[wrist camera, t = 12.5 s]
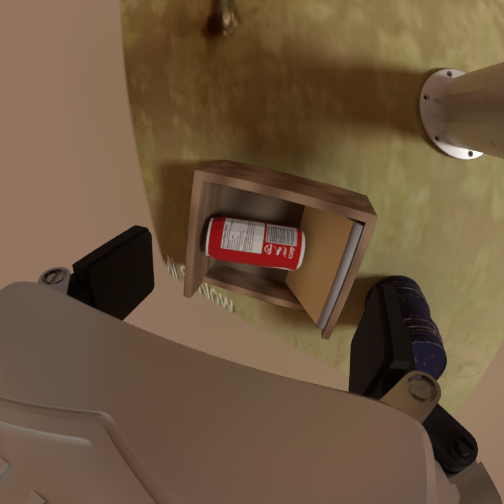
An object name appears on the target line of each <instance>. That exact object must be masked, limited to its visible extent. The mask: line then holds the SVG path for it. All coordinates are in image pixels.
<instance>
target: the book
mask: <svg viewBox="0 0 504 504" xmlns="http://www.w3.org/2000/svg"><path fill="white" fill-rule="evenodd" d="M363 227H364V225H363V224H362V223H360V222H358V221H357V220H355V219H352V218H349V217H345V216H342V215H339V214H335V213H332V212H328V211H325V210H321V209H317V208H314V207H310V206H306V205H305V209H304V213H303V216H302V220H301V224H300V228H301V229H302V231H303V232H305V251H304V256H303V260H302V263H301V266H300V267H299V268H297V269H296V270H295V271H292V270H288V273H287V277H286V280H285V283H286V284H287V285H288V287H289V288H290V290H291V291H292V292H293V294H294V295H295V296H296V298H297V299H298V300H299V302H300V303H301V304H302V306H303V307H304V309H305V310H306V311H307V313H308V314H309V315H310V317H311V318H312V319H313V321H314V322H315V324H316V326H317V327H318V328H320V329H324V328H325V327H326V324H327V322H328V320H329V317H330V315H331V313H332V310H333V308H334V305H335V303H336V301H337V298H338V296H339V293H340V291H341V288H342V285H343V283H344V280H345V278H346V275H347V272H348V270H349V267H350V264H351V262H352V259H353V256H354V253H355V250H356V248H357V245H358V242H359V239H360V236H361V233H362V230H363Z"/></svg>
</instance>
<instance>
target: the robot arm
mask: <svg viewBox="0 0 504 504" xmlns="http://www.w3.org/2000/svg"><path fill="white" fill-rule="evenodd" d="M447 74H448V75H447ZM424 96H425V97H426V100H425V99H424ZM419 115H420V118H421V122H422V125H423V127H424V129H425V132H426V133H427V135H428V137H429V138H430V140H431V141H432V142H433V143H434V144H435V146H436V147H437V148H439V149H440V150H441V151H442V152H444V153H445V154H447V155H449V156H451V157H454V158H457V159H462V160H471V159H475V158H477V157H479V156H481V155H483V154H488V155H492V156H496V157H499V158H503V159H504V62H502V63H499V64H495V65H492V66H488V67H485V68H482V69H479V70H476V71H473V72H469V73H466V72H463V71H461V70H457V69H443V70H439V71H437V72H435V73H433V74H432V75H431V76H429V77H428V78H427V80H426V81H425V82H424V84H423V86H422V88H421V91H420V95H419ZM435 136H436V137H437V140H435ZM468 152H469V155H468ZM72 266H73V271H74V273H73V274H71V273H70V271H69V270H68V269H67V268H64V267H56V268H52V269H49V270H47V271H45V272H44V273H43V274H42V275H41V276H40V278H39V280H38V283H35V282H14V283H12V284H10V285H8V286H6V287H4V288H3V289H1V290H0V504H502V500H501V497H500V495H499V493H498V491H497V489H496V487H495V485H494V483H493V482H492V480H491V478H490V476H489V474H488V472H487V471H486V469H485V467H484V466H483V464H482V462H480V463H477V461H476V460H475V459H476V457H477V453H478V447H477V443H476V440H475V438H474V437H473V436H472V435H471V434H470V433H469V432H468V431H467V430H466V429H465V428H464V427H463V426H462V425H461V424H460V423H459V422H457V421H456V420H455V419H454V418H453V417H452V416H451V415H450V414H449V413H448V412H447V411H446V410H444V409H443V408H442V407H441V406H440V405H439V404H438V401H439V399H440V397H441V389H440V386H439V384H438V382H437V381H436V380H435V379H434V378H433V377H432V376H431V375H429V374H427V373H425V372H422V371H417V369H416V364H415V358H414V353H413V348H412V343H411V339H410V334H409V330H408V326H407V324H405V323H403V319H402V314H401V310H400V306H399V302H398V298H397V294H396V290H395V287H393V286H388V285H384V284H380V285H379V287H376V286H375V287H374V288H373V291H372V293H371V296H370V298H369V301H368V304H367V306H366V308H365V311H364V313H363V316H362V318H361V321H360V323H359V325H358V328H357V330H356V332H355V334H354V337H353V339H352V342H351V353H350V376H349V392H347V391H342V390H338V389H334V388H330V387H325V386H321V385H317V384H313V383H309V382H304V381H300V380H296V379H292V378H288V377H284V376H280V375H276V374H273V373H269V372H265V371H262V370H258V369H255V368H252V367H248V366H245V365H241V364H238V363H235V362H232V361H228V360H225V359H222V358H219V357H216V356H213V355H210V354H207V353H204V352H201V351H199V350H196V349H193V348H190V347H187V346H185V345H182V344H179V343H176V342H174V341H171V340H169V339H166V338H163V337H161V336H158V335H156V334H153V333H151V332H148V331H146V330H143V329H141V328H139V327H136V326H134V325H131V324H129V323H127V322H124V321H123V320H124V319H125V318H126V317H127V316H128V315H129V314H130V313H131V312H132V311H133V310H134V309H135V308H136V307H137V306H138V305H139V304H140V303H141V302H142V301H143V300H144V299H145V298H146V297H147V296H148V295H149V294H150V293H151V292H152V290H153V288H154V271H153V255H152V235H151V233H150V232H149V230H148V228H146V227H141V226H137V225H135V226H133V227H131V228H130V229H128V230H126V231H125V232H123V233H121V234H120V235H119V236H116V237H115V238H113V239H112V240H110V241H108V242H107V243H105V244H104V245H102V246H100V247H99V248H97V249H96V250H94V251H93V252H91V253H90V254H88V255H86V256H85V257H83V258H82V259H81V260H79V261H77V262H76V263H74V264H73V265H72Z"/></svg>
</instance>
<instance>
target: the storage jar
mask: <svg viewBox="0 0 504 504" xmlns="http://www.w3.org/2000/svg"><path fill="white" fill-rule="evenodd" d="M380 284H384V285H388V286H393V287H395V290H396V294H397V298H398V302H399V306H400V310H401V314H402V319H403V323H405V324H407V326H408V330H409V334H410V339H411V343H412V348H413V353H414V358H415V364H416V369H417V371H422V372H425V373H427V374H429V375H431V376H432V377H433V378H434V379H435V380H436V381H437V380H438V379H439V378H440V377H441V375H442V374H443V372H444V370H445V368H446V365H447V355H446V352H445V350H444V347H443V342H442V339H441V336H440V334H439V330H438V328H437V326H436V324H435V323H434V322H433V320H432V319H431V317H430V309H429V305H428V303H427V301H426V299H425V297H424V295H423V293H422V292H421V289H420V288H419V286H418V284H417V283H416V282H415V281H414V280H412V279H410V278H408V277H406V276H390V277H387V278H385V279H382V280H381V281H379V282H378V283H376V284H375V285H374V286H373V287H372V288H371V289H370V291H369V292H368V294H367V297H366V300H365V308H366V306H367V304H368V301H369V298H370V296H371V293H372V291H373V288H374V287H375V286H376V287H379V285H380Z"/></svg>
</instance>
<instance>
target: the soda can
mask: <svg viewBox="0 0 504 504" xmlns="http://www.w3.org/2000/svg"><path fill="white" fill-rule="evenodd" d="M304 251H305V232H303V231H302V229H301V228H296V227H289V226H283V225H276V224H270V223H263V222H256V221H250V220H243V219H236V218H228V217H220V218H211V220H210V223H209V228H208V233H207V240H206V256H209V257H212V258H214V259H216V260H220V261H227V262H234V263H241V264H248V265H255V266H263V267H270V268H277V269H284V270H292V271H295V270H296V269H297V268H299V267H300V266H301V263H302V260H303V256H304Z"/></svg>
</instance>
